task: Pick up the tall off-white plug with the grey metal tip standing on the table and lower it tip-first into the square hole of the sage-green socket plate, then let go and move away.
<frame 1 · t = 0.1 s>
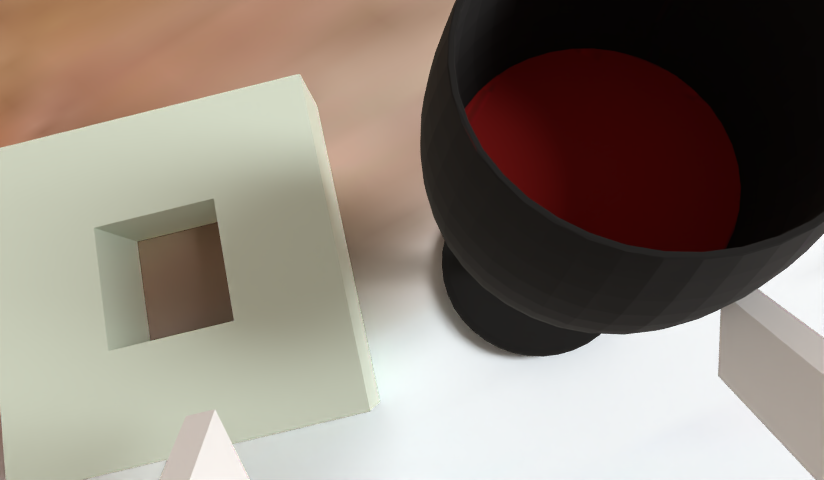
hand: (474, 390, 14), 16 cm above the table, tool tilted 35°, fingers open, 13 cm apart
socket plate: (197, 281, 31), on the table
wine glass: (533, 263, 30), on the table, touching gripper
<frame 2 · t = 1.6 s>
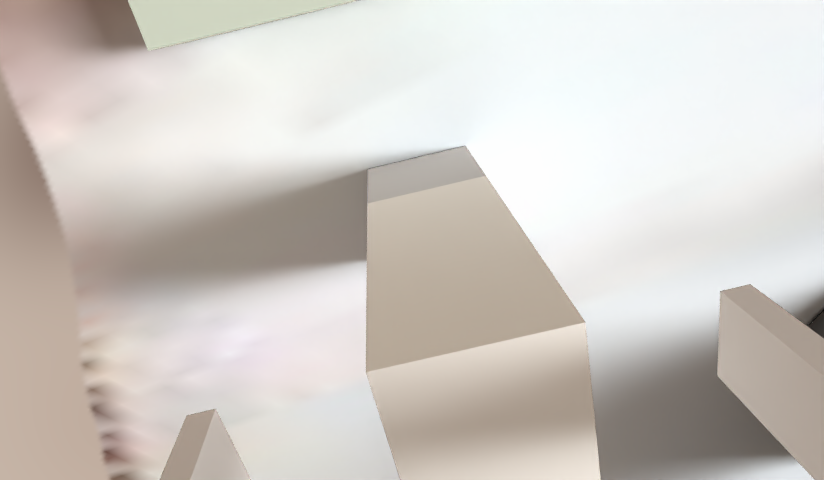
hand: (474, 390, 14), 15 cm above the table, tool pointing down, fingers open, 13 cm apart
plug: (426, 203, 27), on the table
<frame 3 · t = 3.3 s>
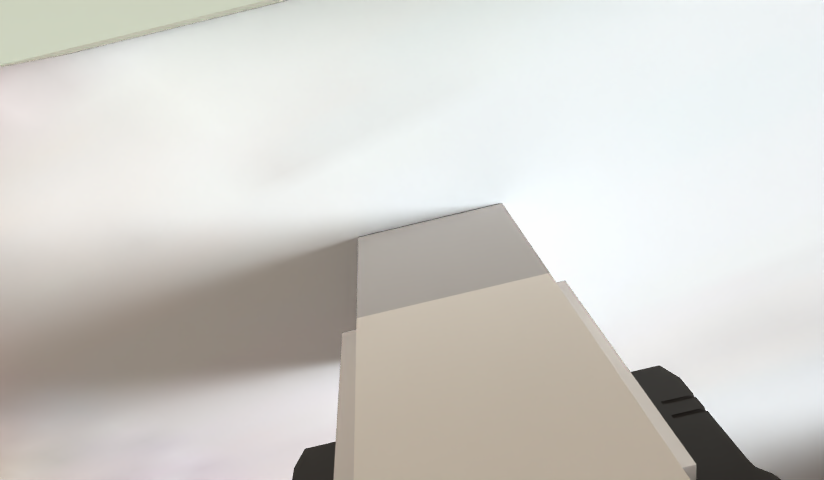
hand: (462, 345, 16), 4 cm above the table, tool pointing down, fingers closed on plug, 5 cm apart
plug: (443, 282, 19), on the table, touching gripper
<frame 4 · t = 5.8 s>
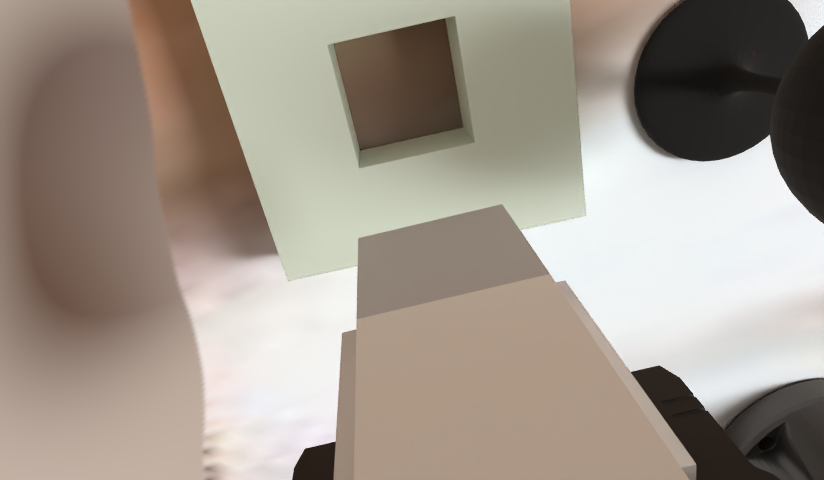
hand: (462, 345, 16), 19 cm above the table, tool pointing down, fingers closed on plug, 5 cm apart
socket plate: (400, 85, 31), on the table
plug: (444, 283, 19), point 16 cm above the table, touching gripper
wine glass: (716, 76, 32), on the table
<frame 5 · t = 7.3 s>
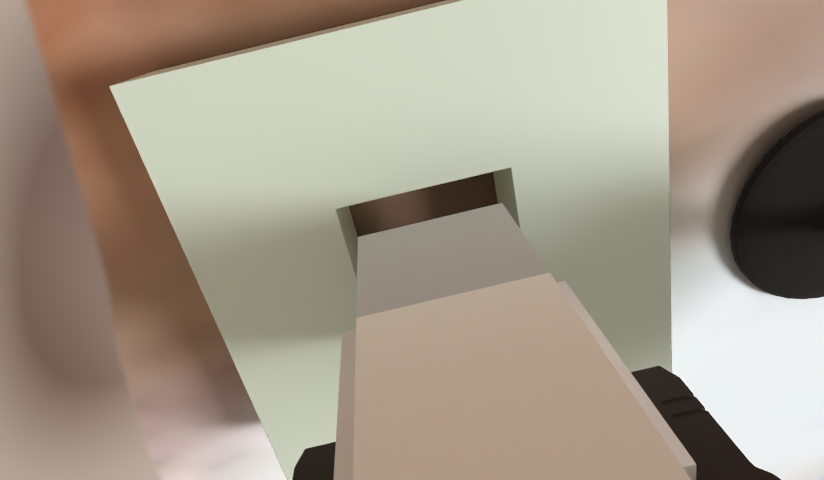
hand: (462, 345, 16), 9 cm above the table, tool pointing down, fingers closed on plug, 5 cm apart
socket plate: (428, 226, 24), on the table
plug: (443, 282, 19), point 6 cm above the table, touching gripper
when the fingers open (5 cm above the table, at t = 8.5 s): plug drops 1 cm, resting in socket plate.
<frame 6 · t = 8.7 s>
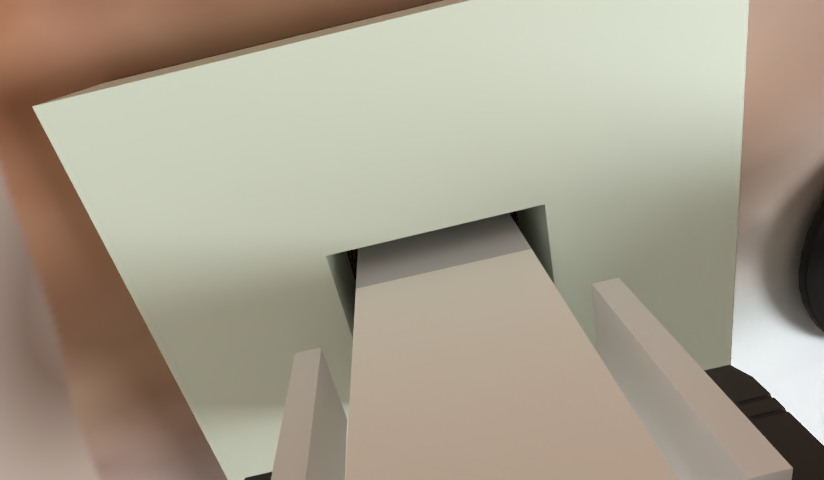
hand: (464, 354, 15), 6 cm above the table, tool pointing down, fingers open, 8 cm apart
socket plate: (438, 264, 20), on the table
plug: (439, 264, 20), resting in socket plate
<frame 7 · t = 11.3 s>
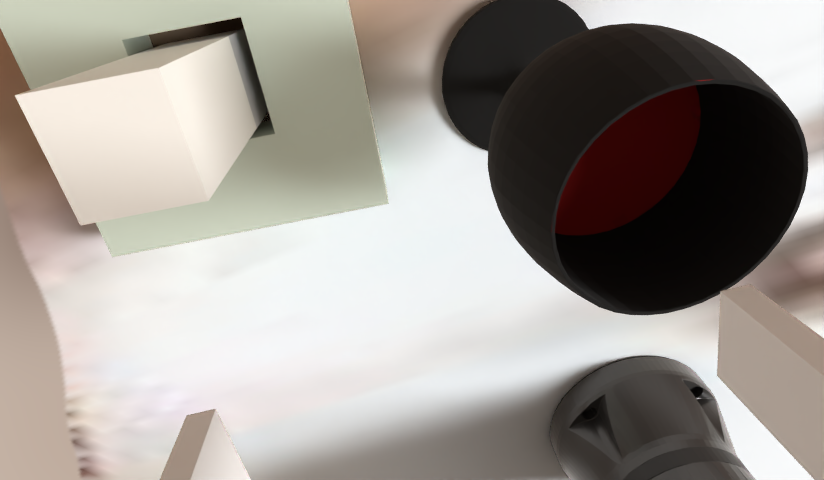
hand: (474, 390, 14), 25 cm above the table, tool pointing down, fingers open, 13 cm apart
socket plate: (218, 77, 34), on the table
plug: (219, 77, 34), resting in socket plate
wine glass: (518, 78, 35), on the table
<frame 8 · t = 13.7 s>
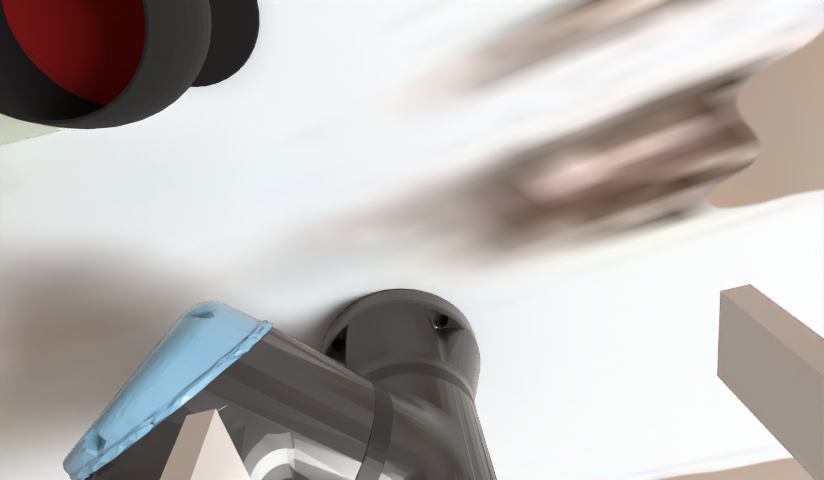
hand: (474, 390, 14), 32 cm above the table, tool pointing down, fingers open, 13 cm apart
wine glass: (186, 11, 38), on the table
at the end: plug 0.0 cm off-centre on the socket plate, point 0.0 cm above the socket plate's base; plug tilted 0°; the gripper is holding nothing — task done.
